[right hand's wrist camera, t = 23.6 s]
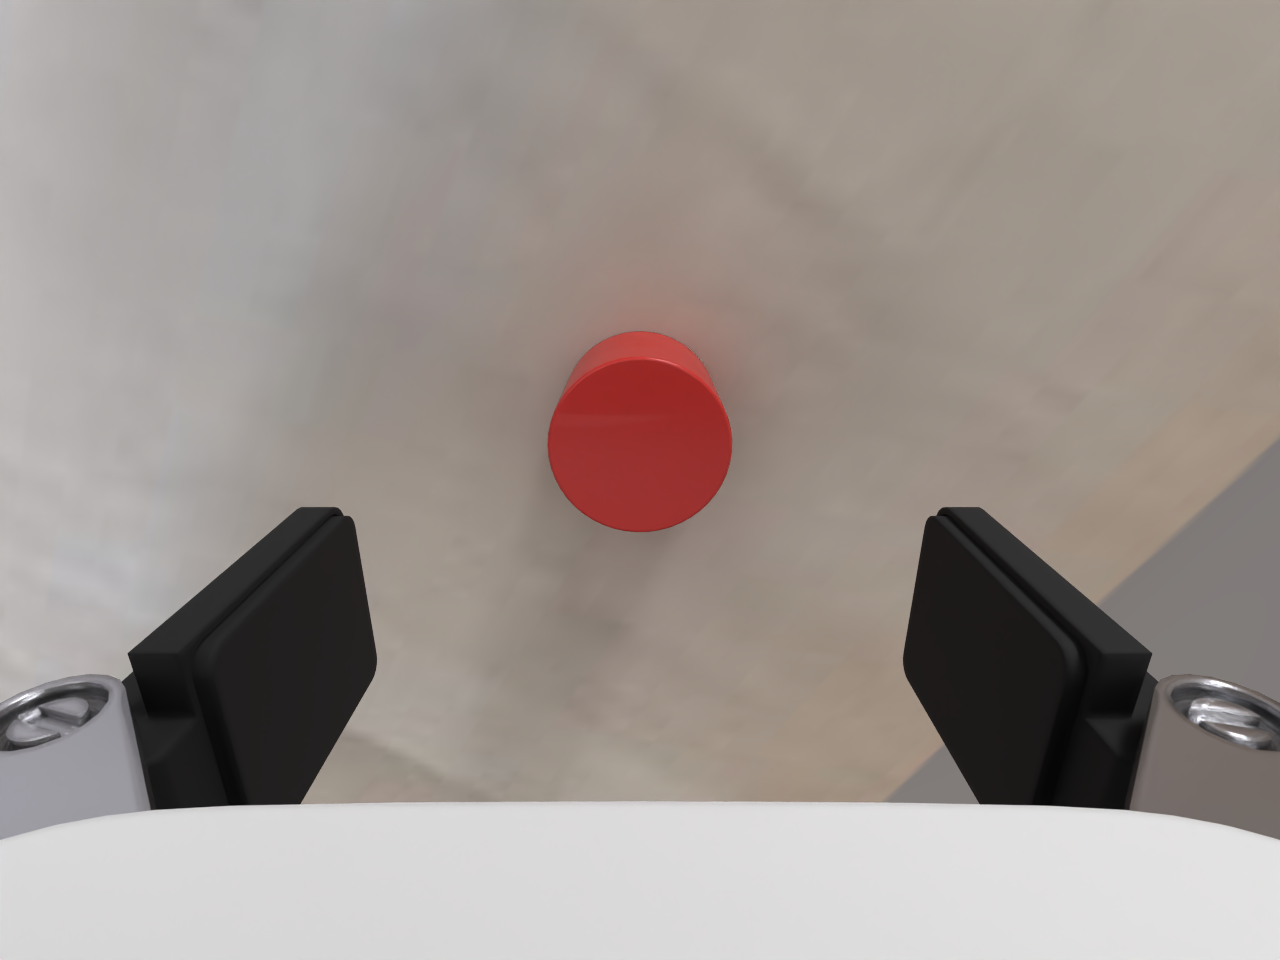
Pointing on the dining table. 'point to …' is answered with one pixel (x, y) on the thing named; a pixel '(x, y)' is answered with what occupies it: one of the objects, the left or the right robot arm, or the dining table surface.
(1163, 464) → the dining table surface
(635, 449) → the canister
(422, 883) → the right robot arm
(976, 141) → the dining table surface
